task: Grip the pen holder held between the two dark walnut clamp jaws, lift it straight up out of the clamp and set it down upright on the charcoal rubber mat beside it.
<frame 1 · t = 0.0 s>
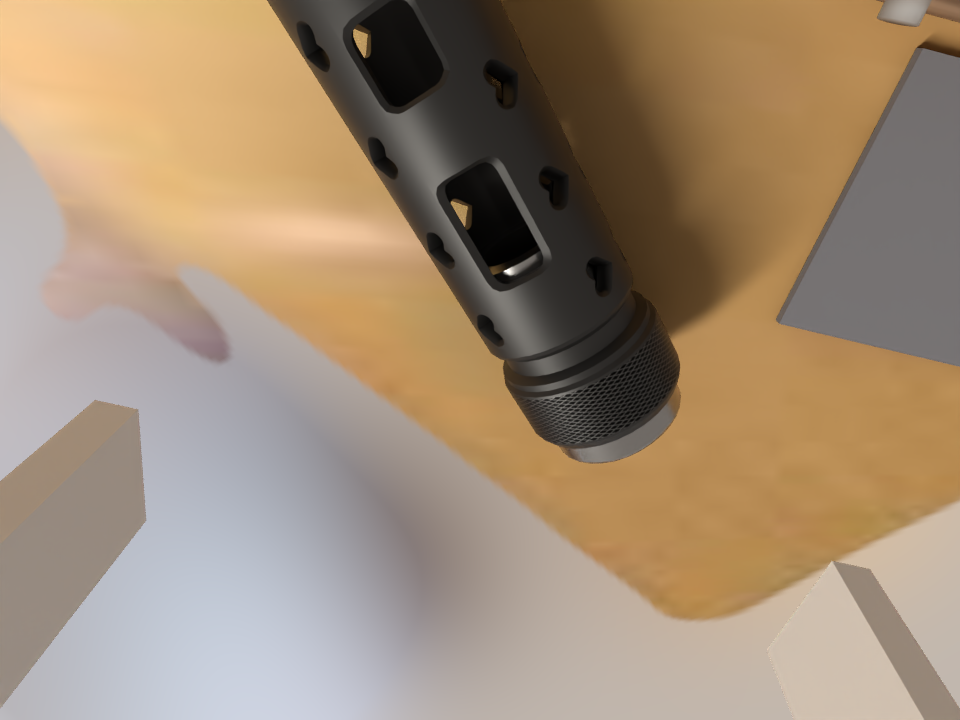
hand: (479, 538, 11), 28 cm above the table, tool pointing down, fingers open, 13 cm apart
muzzle brake: (509, 193, 36), on the table
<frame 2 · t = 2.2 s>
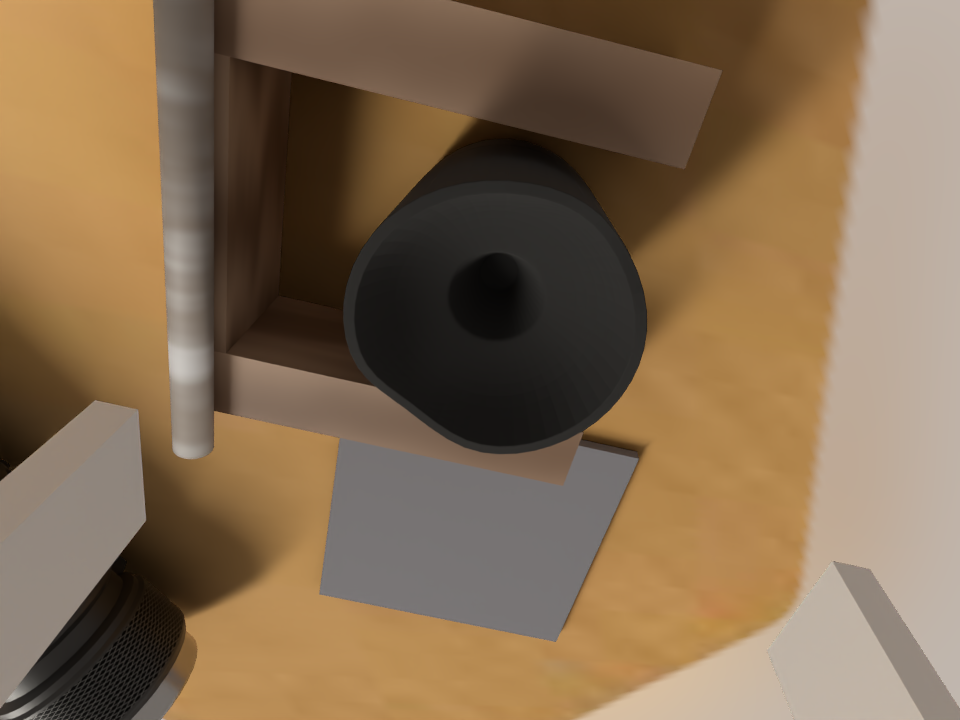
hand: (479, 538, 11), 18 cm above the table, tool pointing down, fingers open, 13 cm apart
mat: (464, 525, 36), on the table
pen holder: (502, 234, 27), on the table
muzzle brake: (32, 481, 37), on the table
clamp: (502, 236, 27), on the table
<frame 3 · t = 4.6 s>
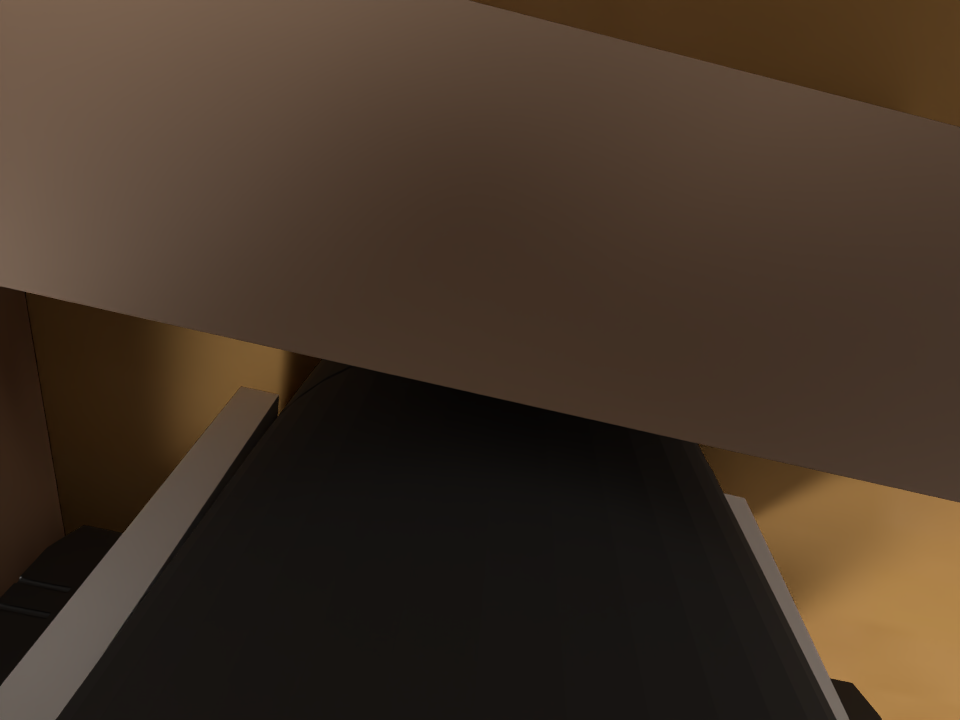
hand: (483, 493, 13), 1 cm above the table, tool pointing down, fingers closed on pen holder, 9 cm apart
pen holder: (486, 458, 14), on the table, touching gripper
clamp: (486, 463, 13), on the table
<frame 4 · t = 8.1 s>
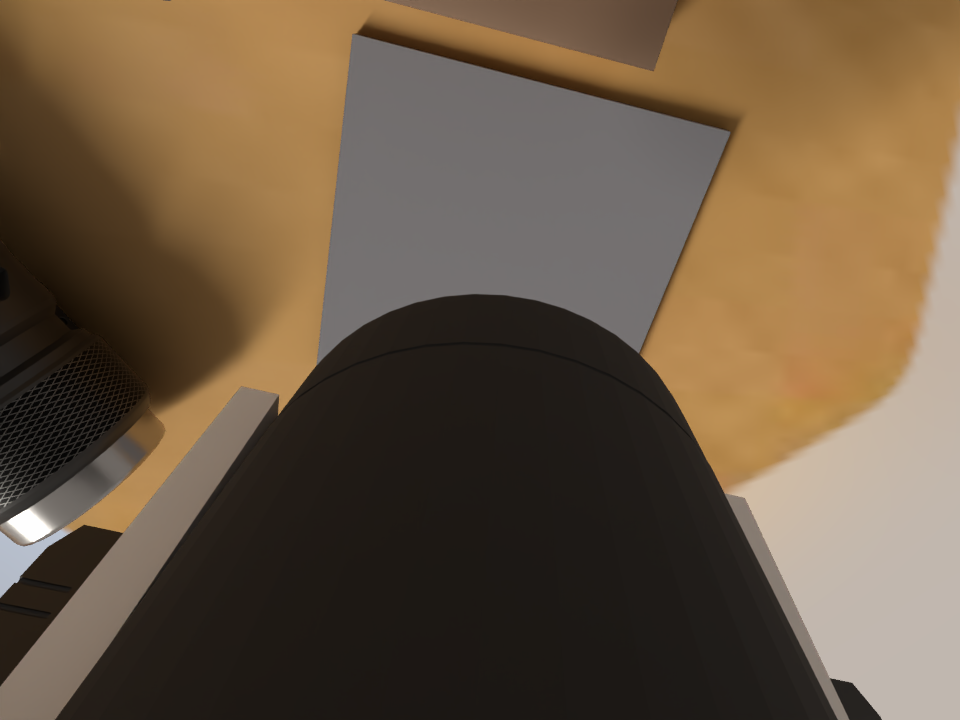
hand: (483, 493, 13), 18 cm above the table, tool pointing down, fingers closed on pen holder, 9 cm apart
mat: (498, 260, 29), on the table
pen holder: (486, 458, 14), point 17 cm above the table, touching gripper
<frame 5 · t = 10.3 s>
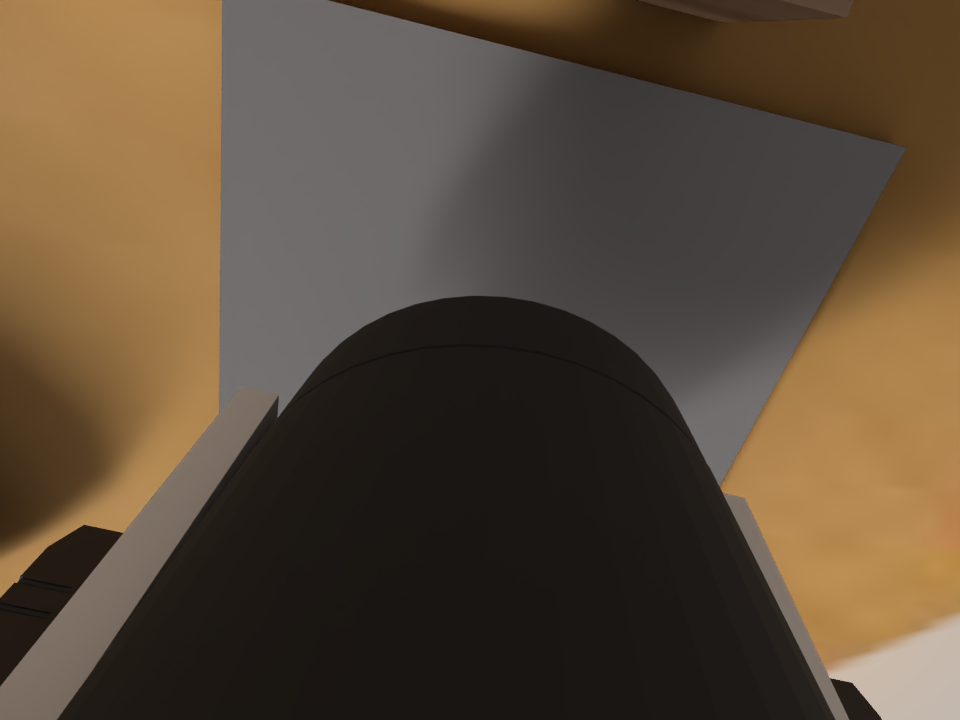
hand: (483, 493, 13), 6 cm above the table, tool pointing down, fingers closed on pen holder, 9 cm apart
mat: (494, 352, 18), on the table
pen holder: (486, 459, 14), point 5 cm above the table, touching gripper
when the fingers open (3 cm above the table, at t = 11.9 s): pen holder drops 1 cm, resting on mat.
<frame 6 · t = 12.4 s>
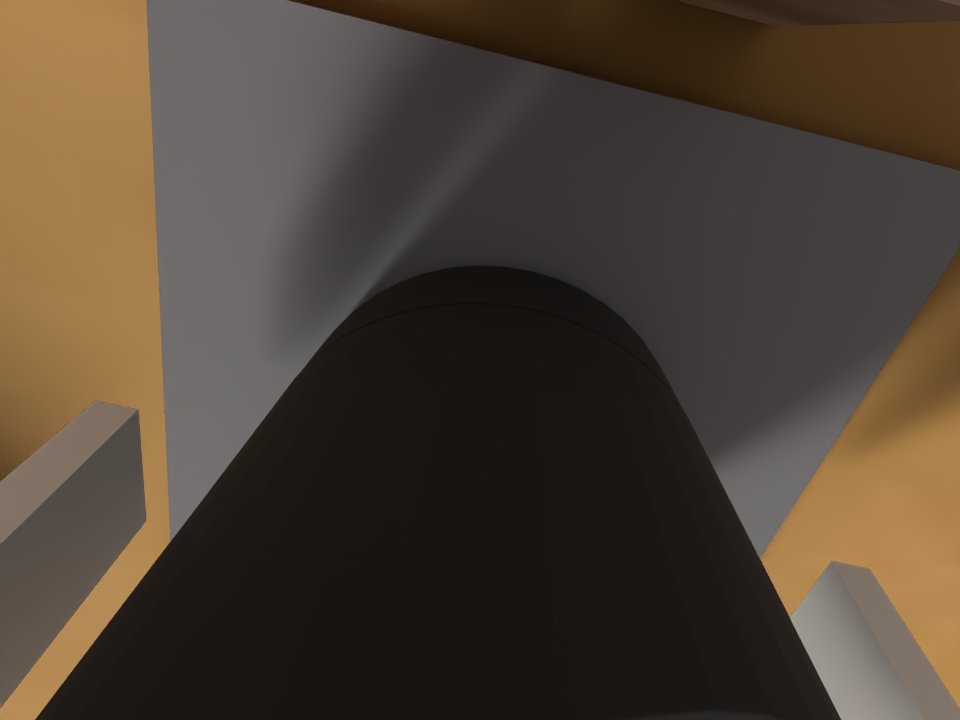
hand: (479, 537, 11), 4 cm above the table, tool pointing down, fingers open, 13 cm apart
mat: (490, 415, 15), on the table
pen holder: (487, 422, 15), resting on mat
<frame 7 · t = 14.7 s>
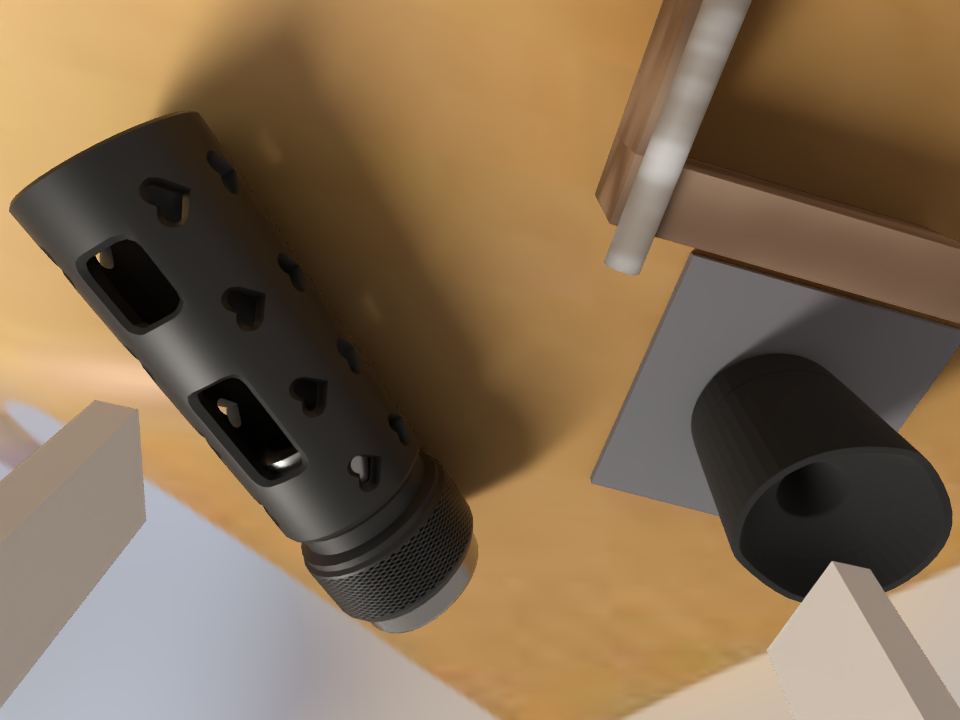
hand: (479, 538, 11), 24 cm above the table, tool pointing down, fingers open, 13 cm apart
mat: (759, 409, 37), on the table
pen holder: (761, 412, 36), resting on mat
muzzle brake: (323, 353, 37), on the table
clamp: (899, 88, 28), on the table
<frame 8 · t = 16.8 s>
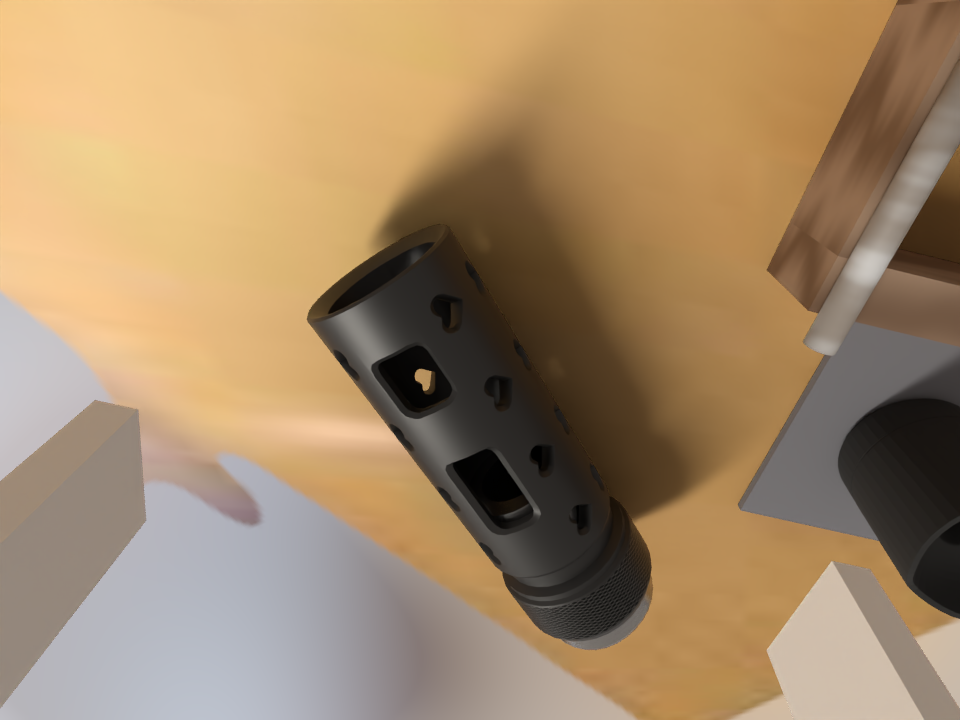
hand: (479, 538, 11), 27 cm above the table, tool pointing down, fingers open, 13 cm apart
mat: (898, 444, 41), on the table
pen holder: (900, 446, 41), resting on mat
muzzle brake: (506, 406, 42), on the table
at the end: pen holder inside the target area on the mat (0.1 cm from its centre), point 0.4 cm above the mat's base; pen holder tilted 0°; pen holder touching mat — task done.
